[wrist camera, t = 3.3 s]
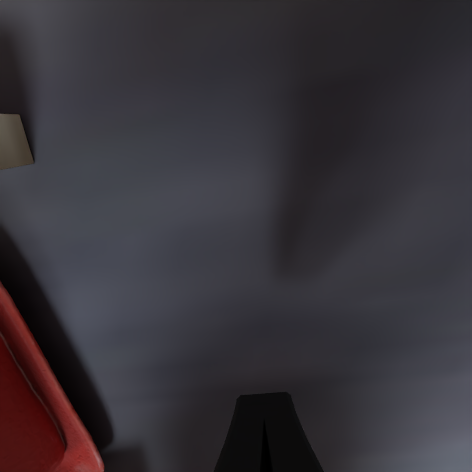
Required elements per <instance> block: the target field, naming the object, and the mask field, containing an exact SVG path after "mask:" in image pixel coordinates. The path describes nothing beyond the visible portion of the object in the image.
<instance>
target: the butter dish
mask: <svg viewBox="0 0 472 472" xmlns="http://www.w3.org/2000/svg"><path fill="white" fill-rule="evenodd" d="M0 472H104V463H103V460H102V457H101V455H100V453H99V451H98V449H97V447H96V444H95V443H94V442H93V440H92V437H91V435H90V433H89V432H88V430H87V429H86V427H85V425H84V424H83V422H82V421H81V419H80V417H79V416H78V414H77V412H76V411H75V409H74V408H73V406H72V404H71V402H70V401H69V399H68V397H67V395H66V394H65V392H64V390H63V388H62V387H61V385H60V383H59V382H58V380H57V378H56V376H55V374H54V373H53V371H52V369H51V367H50V366H49V363H48V361H47V359H46V358H45V357H44V355H43V353H42V350H41V348H40V347H39V345H38V344H37V342H36V340H35V339H34V336H33V334H32V333H31V331H30V330H29V328H28V326H27V324H26V323H25V321H24V319H23V317H22V316H21V314H20V312H19V310H18V309H17V307H16V305H15V303H14V301H13V299H12V298H11V296H10V295H9V293H8V292H7V290H6V289H5V288H4V286H3V285H2V283H1V281H0Z"/></svg>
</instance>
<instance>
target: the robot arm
mask: <svg viewBox="0 0 472 472" xmlns="http://www.w3.org/2000/svg"><path fill="white" fill-rule="evenodd" d="M214 472H324V471H323V469H322V467H321V465H320V463H319V461H318V460H317V458H316V456H315V454H314V452H313V450H312V448H311V446H310V444H309V442H308V440H307V438H306V435H305V433H304V431H303V429H302V426H301V424H300V422H299V419H298V417H297V414H296V411H295V408H294V405H293V402H292V399H291V395H290V394H288V393H287V392H280V393H266V394H253V395H241V396H240V397H239V398H238V399H237V402H236V407H235V411H234V415H233V418H232V422H231V425H230V428H229V431H228V434H227V437H226V440H225V443H224V446H223V448H222V451H221V454H220V456H219V459H218V462H217V464H216V467H215V470H214Z"/></svg>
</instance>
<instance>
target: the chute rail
mask: <svg viewBox="0 0 472 472" xmlns="http://www.w3.org/2000/svg"><path fill="white" fill-rule="evenodd" d="M33 163H34V161H33V158H32V155H31V151H30V148H29V145H28V142H27V138H26V135H25V132H24V128H23V125H22V122H21V119H20V115H19V114H0V170H3V169H8V168H13V167H18V166H23V165H28V164H33Z"/></svg>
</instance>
